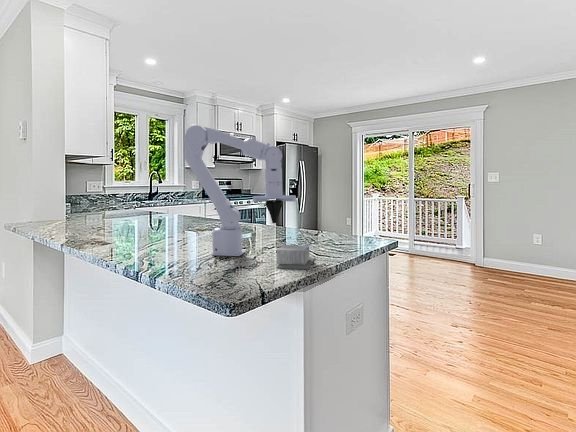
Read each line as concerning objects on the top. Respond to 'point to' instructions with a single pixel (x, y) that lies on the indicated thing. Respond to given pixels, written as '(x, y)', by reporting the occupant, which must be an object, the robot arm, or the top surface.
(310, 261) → the slate mat
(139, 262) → the top surface
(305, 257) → the medicine box
